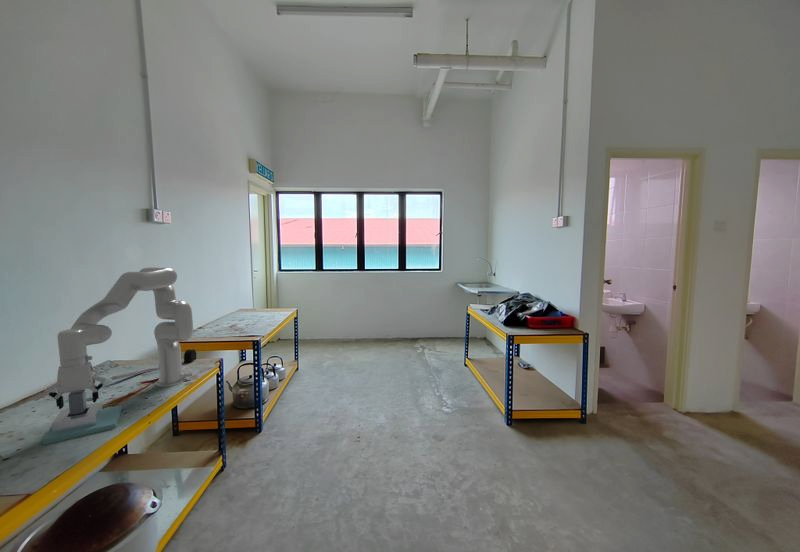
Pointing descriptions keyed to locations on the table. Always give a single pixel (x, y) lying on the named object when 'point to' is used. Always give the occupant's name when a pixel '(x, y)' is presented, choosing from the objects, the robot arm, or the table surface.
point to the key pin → (77, 403)
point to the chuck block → (82, 423)
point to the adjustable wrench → (134, 372)
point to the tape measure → (189, 356)
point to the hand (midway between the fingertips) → (78, 404)
